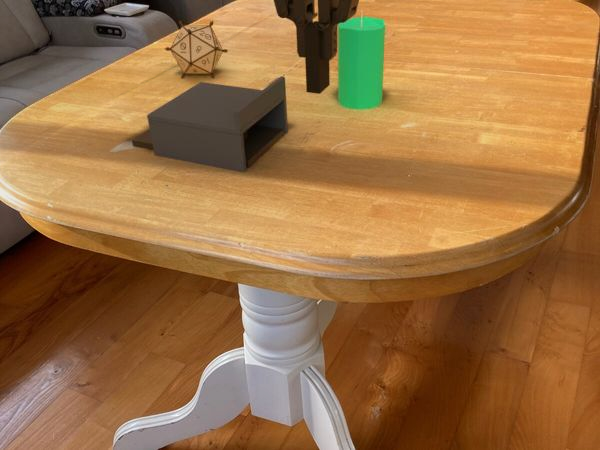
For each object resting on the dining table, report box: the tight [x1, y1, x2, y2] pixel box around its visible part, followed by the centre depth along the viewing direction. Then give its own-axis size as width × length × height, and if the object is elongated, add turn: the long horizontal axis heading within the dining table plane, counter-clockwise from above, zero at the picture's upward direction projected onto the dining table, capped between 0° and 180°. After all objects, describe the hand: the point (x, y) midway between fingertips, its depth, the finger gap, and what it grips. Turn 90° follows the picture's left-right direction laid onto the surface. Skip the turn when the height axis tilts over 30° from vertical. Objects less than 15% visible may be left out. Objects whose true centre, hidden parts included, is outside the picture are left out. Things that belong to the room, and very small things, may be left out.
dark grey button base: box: [131, 125, 285, 169], centre depth 70 cm, size 16×9×2 cm, turn 66°
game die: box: [164, 20, 229, 79], centre depth 89 cm, size 9×8×10 cm
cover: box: [146, 76, 289, 173], centre depth 68 cm, size 12×11×7 cm
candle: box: [337, 10, 386, 110], centre depth 76 cm, size 6×6×12 cm
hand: (318, 88), depth 61 cm, fingers closed
